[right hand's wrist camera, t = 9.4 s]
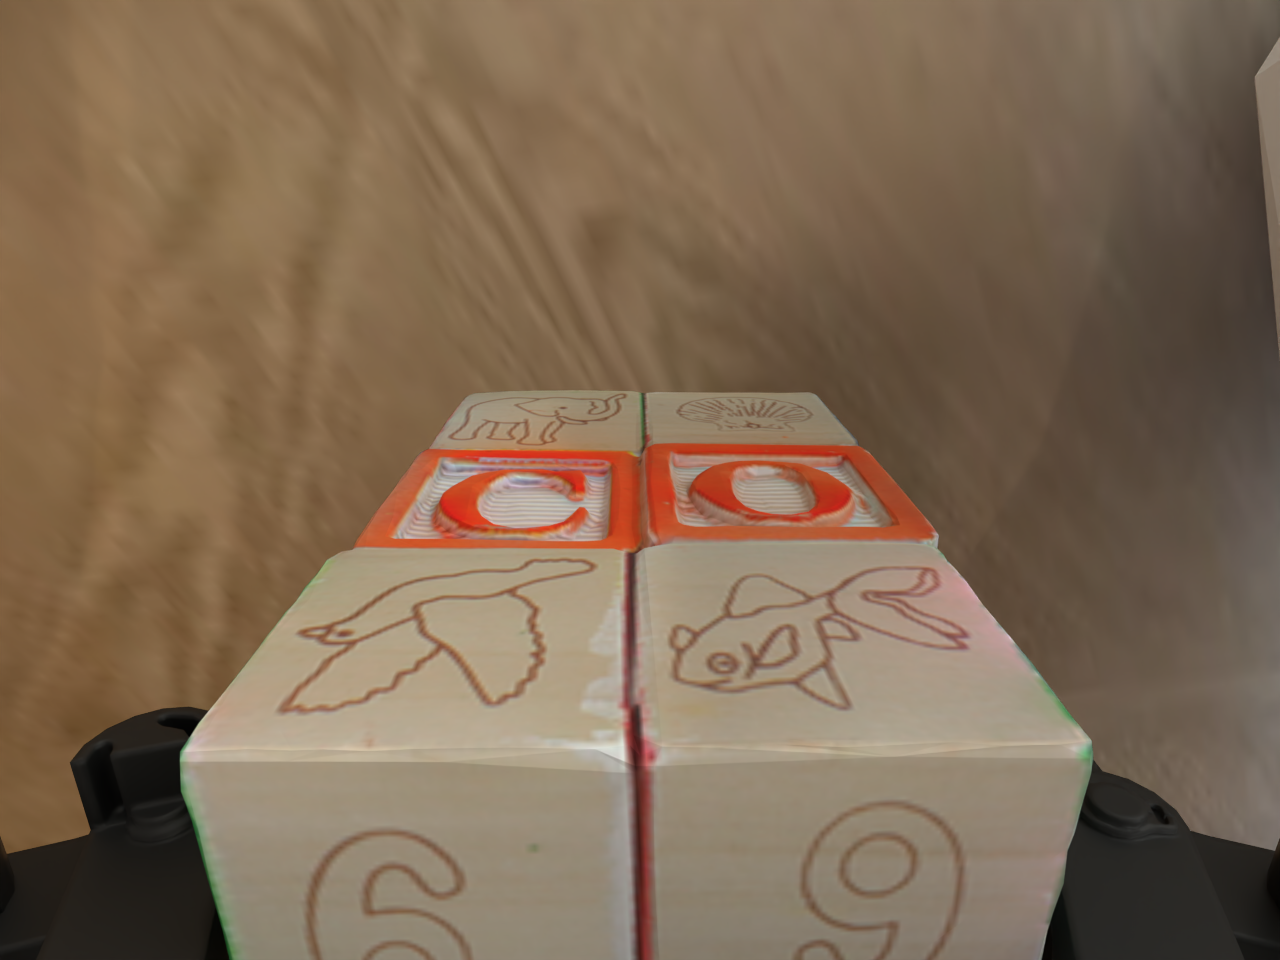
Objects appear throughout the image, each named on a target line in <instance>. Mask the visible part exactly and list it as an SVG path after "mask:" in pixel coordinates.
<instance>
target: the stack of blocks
mask: <svg viewBox="0 0 1280 960" xmlns="http://www.w3.org/2000/svg"><path fill="white" fill-rule="evenodd" d="M938 539H939V535H938V534H937V532H936V531H935V529H934V528H933V526H932V525H931V523H930V522H929V521H928V520H927V519H926V518H925V516H924V515H923V514H922V513H921V512H920V511H919V509H918V508H917V507H916V506H915V505H914V504H913V502H912V501H911V500H910V499H909V498H908V496H907V495H906V494H905V493H904V492H903V490H902V489H901V488H900V487H899V486H898V484H897V483H896V482H895V481H894V480H893V479H892V478H891V477H890V476H889V474H888V473H887V472H886V471H885V470H884V469H883V468H882V467H881V466H880V464H879V463H878V462H877V461H876V460H875V458H874V457H873V456H872V455H871V454H870V453H869V452H868V451H866V450H865V449H863V448H861V447H859V444H858V441H857V440H856V439H855V438H854V436H853V435H852V434H851V433H850V432H849V431H848V430H847V429H846V428H845V427H844V426H843V425H842V424H841V422H840V421H839V420H838V418H837V417H836V416H835V415H834V414H833V413H832V412H831V411H830V410H829V409H828V408H827V407H826V405H825V404H824V403H823V402H822V401H821V400H820V398H819V397H818V396H817V395H815V394H812V393H810V392H805V393H691V392H654V393H645V394H644V393H639V392H634V391H593V390H553V391H505V392H488V393H474V394H471V395H469V396H467V397H466V398H465V399H464V400H463V401H462V402H461V403H460V405H459V406H458V407H457V408H456V410H455V411H454V412H453V413H452V415H451V416H450V417H449V419H448V420H447V421H446V423H445V424H444V426H443V428H442V429H441V431H440V433H439V434H438V435H437V436H436V438H435V440H434V442H433V443H432V445H431V446H430V447H429V449H427V450H425V451H423V452H421V453H420V454H419V455H418V456H417V457H416V458H415V459H414V461H413V462H412V464H411V466H410V467H409V469H408V470H407V471H406V473H405V474H404V475H403V476H402V477H401V479H400V480H399V482H398V483H397V485H396V486H395V488H394V489H393V491H392V492H391V493H390V495H389V496H388V497H387V498H386V500H385V501H384V502H383V503H382V505H381V506H380V507H379V508H378V509H377V511H376V512H375V513H374V515H373V516H372V518H371V519H370V521H369V522H368V524H367V525H366V527H365V528H364V530H363V531H362V533H361V534H360V536H359V537H358V539H357V540H356V542H355V545H354V547H353V550H349V551H343V552H340V553H338V554H337V555H335V556H333V557H331V558H330V559H328V560H327V561H326V562H325V564H324V565H323V566H322V568H321V569H320V571H319V572H318V573H317V574H316V576H315V577H314V578H313V579H312V580H311V581H310V582H309V583H308V585H307V586H306V587H305V588H304V590H303V591H302V593H301V594H300V596H299V598H298V599H297V601H296V602H295V603H294V604H293V605H292V606H291V607H290V608H289V609H288V610H287V611H286V612H285V614H284V615H283V616H282V618H281V619H280V620H279V622H278V623H277V624H276V626H275V627H274V628H273V629H272V630H271V631H270V633H269V634H268V635H267V637H266V638H265V639H264V641H263V642H262V644H261V645H260V646H259V648H258V649H257V650H256V652H255V653H254V654H253V656H252V657H251V658H250V659H249V661H248V662H247V663H246V665H245V666H244V667H243V668H242V670H241V671H240V672H239V674H238V675H237V676H236V677H235V679H234V680H233V681H232V683H231V684H230V685H229V686H228V688H227V689H226V690H225V692H224V693H223V694H222V695H221V697H220V698H219V699H218V700H217V701H216V703H215V704H214V705H213V706H212V708H211V709H210V710H209V711H208V713H207V714H206V715H205V716H204V718H203V719H202V720H201V721H200V722H199V724H198V725H197V727H196V728H195V730H194V731H193V733H192V734H191V736H190V737H189V739H188V741H187V742H186V744H185V745H184V747H183V748H182V750H181V751H180V778H181V793H182V795H183V798H184V801H185V804H186V806H187V809H188V812H189V814H190V817H191V820H192V823H193V827H194V830H195V834H196V838H197V841H198V845H199V849H200V852H201V856H202V860H203V863H204V867H205V870H206V874H207V878H208V881H209V885H210V888H211V892H212V895H213V899H214V902H215V905H216V909H217V912H218V916H219V919H220V923H221V926H222V930H223V933H224V938H225V942H226V946H227V951H228V955H229V959H230V960H1041V959H1042V954H1043V950H1044V945H1045V940H1046V935H1047V931H1048V927H1049V924H1050V921H1051V918H1052V914H1053V911H1054V909H1055V906H1056V903H1057V900H1058V898H1059V895H1060V892H1061V889H1062V887H1063V884H1064V876H1065V868H1066V859H1067V851H1068V848H1069V846H1070V843H1071V841H1072V838H1073V836H1074V833H1075V829H1076V825H1077V822H1078V818H1079V814H1080V810H1081V807H1082V803H1083V799H1084V796H1085V793H1086V789H1087V786H1088V782H1089V779H1090V775H1091V770H1092V762H1093V749H1092V740H1091V739H1090V738H1089V737H1088V736H1087V734H1086V733H1085V732H1084V731H1083V730H1082V728H1081V727H1080V726H1079V725H1078V724H1077V722H1076V721H1075V720H1074V719H1073V718H1072V716H1071V715H1070V714H1069V712H1068V711H1067V710H1066V708H1065V707H1064V706H1063V704H1062V703H1061V701H1060V700H1059V699H1058V697H1057V696H1056V695H1055V693H1054V692H1053V691H1052V689H1051V688H1050V687H1049V685H1048V684H1047V683H1046V681H1045V680H1044V679H1043V677H1042V676H1041V674H1040V673H1039V672H1038V670H1037V669H1036V668H1035V666H1034V665H1033V664H1032V663H1031V661H1030V660H1029V659H1028V658H1027V657H1026V655H1025V654H1024V653H1023V652H1022V651H1021V649H1020V648H1019V647H1018V646H1017V645H1016V643H1015V642H1014V641H1013V640H1012V639H1011V637H1010V636H1009V635H1008V634H1007V633H1006V631H1005V630H1004V629H1003V628H1002V627H1001V626H1000V624H999V623H998V622H997V621H996V620H995V618H994V617H993V616H992V615H991V614H990V613H989V611H988V610H987V609H986V608H985V607H984V605H983V604H982V603H981V601H980V600H979V599H978V597H977V596H976V594H975V593H974V592H973V590H972V589H971V587H970V586H969V584H968V583H967V582H966V581H965V579H964V578H963V577H962V576H961V575H960V574H959V573H958V571H957V570H956V569H955V568H954V567H953V566H952V565H951V564H950V563H949V562H948V561H947V560H946V558H945V556H944V555H943V554H942V553H941V552H940V551H939V550H938V549H937V547H938Z"/></svg>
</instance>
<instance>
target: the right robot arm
mask: <svg viewBox="0 0 1280 960" xmlns="http://www.w3.org/2000/svg"><path fill="white" fill-rule="evenodd" d="M207 713H208V711H207V710H202V709H197V708H193V707H179V708H164V709H160V710H156V711H152V712H148V713H145V714H141V715H137V716H134V717H132V718H130V719H127V720H125V721H123V722H121V723H119V724H116V725H114V726H112V727H110V728H108V729H106V730H105V731H103V732H102V733H100V734H99V735H98V736H96V737H95V738H93V739H92V740H90V741H89V742H88V743H86V744H85V745H84V746H83V747H82V748H81V750H80V751H79V752H78V753H77V754H76V756H75V757H74V758H73V759H72V761H71V762H70V765H71V768H72V771H73V774H74V778H75V781H76V784H77V787H78V790H79V794H80V797H81V800H82V803H83V807H84V810H85V813H86V816H87V819H88V823H89V826H90V829H91V831H90V833H89V835H86V836H82V837H79V838H75V839H71V840H67V841H63V842H58V843H54V844H49V845H45V846H40V847H36V848H32V849H27V850H23V851H18V852H14V853H10V854H6V851H5V848H4V846H3V843H2V840H1V837H0V960H230V959H229V955H228V951H227V946H226V942H225V938H224V933H223V930H222V926H221V923H220V919H219V916H218V912H217V909H216V905H215V902H214V899H213V895H212V892H211V888H210V885H209V881H208V878H207V874H206V870H205V867H204V863H203V860H202V856H201V852H200V849H199V845H198V841H197V838H196V834H195V830H194V827H193V823H192V820H191V817H190V814H189V812H188V809H187V806H186V804H185V801H184V798H183V795H182V793H181V778H180V751H181V750H182V748H183V747H184V745H185V744H186V742H187V741H188V739H189V737H190V736H191V734H192V733H193V731H194V730H195V728H196V727H197V725H198V724H199V722H200V721H201V720H202V719H203V718H204V716H205V715H206V714H207ZM1041 960H1280V839H1279V842H1278V845H1277V847H1276V850H1275V851H1273V850H1268V849H1264V848H1259V847H1255V846H1251V845H1246V844H1242V843H1237V842H1233V841H1228V840H1224V839H1220V838H1215V837H1211V836H1207V835H1203V834H1200V833H1196V832H1193V831H1190V829H1189V828H1188V826H1187V825H1186V824H1185V822H1184V821H1183V819H1182V818H1181V816H1180V815H1179V813H1178V812H1177V811H1176V810H1175V809H1174V808H1173V807H1172V806H1170V805H1169V804H1168V803H1167V802H1165V801H1164V800H1163V799H1162V798H1161V797H1159V796H1158V795H1157V794H1156V793H1154V792H1152V791H1150V790H1148V789H1147V788H1145V787H1143V786H1141V785H1139V784H1137V783H1135V782H1133V781H1131V780H1129V779H1126V778H1123V777H1120V776H1116V775H1113V774H1110V773H1106V772H1103V771H1102V770H1101V769H1100V768H1099V766H1098V765H1097V764H1096V763H1095V761H1094V760H1093V762H1092V770H1091V775H1090V779H1089V782H1088V786H1087V789H1086V793H1085V796H1084V799H1083V803H1082V807H1081V810H1080V814H1079V818H1078V822H1077V825H1076V829H1075V833H1074V836H1073V838H1072V841H1071V843H1070V846H1069V848H1068V851H1067V859H1066V868H1065V876H1064V884H1063V887H1062V889H1061V892H1060V895H1059V898H1058V900H1057V903H1056V906H1055V909H1054V911H1053V914H1052V918H1051V921H1050V924H1049V927H1048V931H1047V935H1046V940H1045V945H1044V950H1043V954H1042V959H1041Z"/></svg>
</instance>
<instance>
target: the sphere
mask: <svg viewBox="0 0 1280 960" xmlns="http://www.w3.org/2000/svg"><path fill="white" fill-rule="evenodd" d="M1255 88H1256V100H1257V111H1258V122H1259V133H1260V145H1261V156H1262V167H1263V179H1264V190H1265V201H1266V212H1267V224H1268V235H1269V246H1270V257H1271V269H1272V280H1273V291H1274V303H1275V314H1276V325H1277V336H1278V348H1279V359H1280V38H1279V39H1278V41H1277V42H1276V44H1275V46H1274V47H1273V49H1272V50H1271V52H1270V53H1269V55H1268V57H1267V58H1266V60H1265V61H1264V63H1263V65H1262V66H1261V68H1260V69H1259V71H1258V73H1257V74H1256V76H1255Z"/></svg>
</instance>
